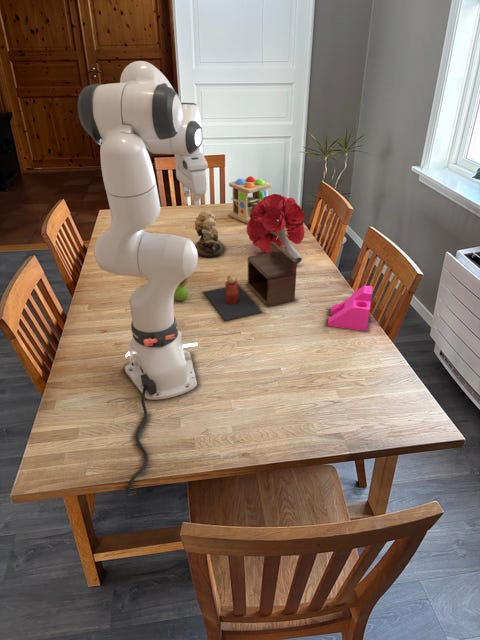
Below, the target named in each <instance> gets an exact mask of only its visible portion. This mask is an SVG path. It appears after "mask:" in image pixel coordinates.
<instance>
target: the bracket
mask: <svg viewBox="0 0 480 640" xmlns="http://www.w3.org/2000/svg"><path fill="white" fill-rule="evenodd" d="M372 296H373V286H371V285H362V286H361V287H359V288H358V289H357V290H355V291H353V292H352V293H351V296H349V297H348V298H347V299H345V300H343V301H342V302H340V303H339V302H337V303H335V304H334V305H332V306H331V308H330V311H329V315H331V316H329V317H328V321H327V326H329V327H335V328H342V329H347V330H348V329H349V330H356V331H362V332H367V331H368V324H369V318H370V312H371V304H372V303H371V302H372Z"/></svg>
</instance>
